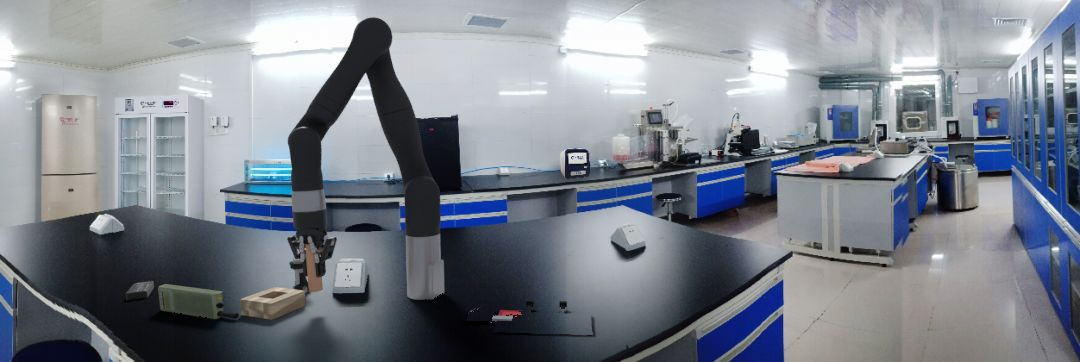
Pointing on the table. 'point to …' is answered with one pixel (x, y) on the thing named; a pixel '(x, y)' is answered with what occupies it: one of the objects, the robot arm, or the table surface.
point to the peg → (312, 271)
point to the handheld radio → (193, 301)
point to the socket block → (272, 303)
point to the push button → (299, 275)
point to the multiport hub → (140, 290)
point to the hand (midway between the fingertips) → (314, 275)
